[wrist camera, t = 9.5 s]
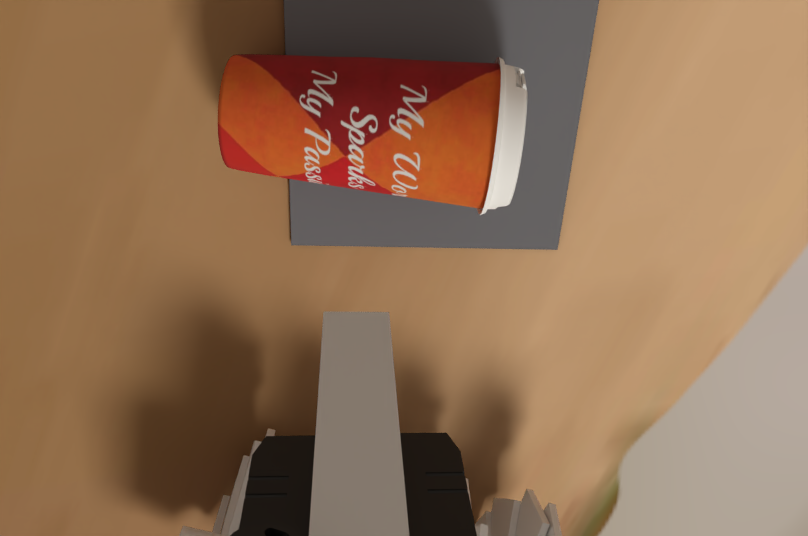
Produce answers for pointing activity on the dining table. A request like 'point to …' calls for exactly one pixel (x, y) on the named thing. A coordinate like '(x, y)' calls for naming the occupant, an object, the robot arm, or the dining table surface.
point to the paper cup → (378, 124)
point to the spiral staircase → (497, 530)
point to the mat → (457, 42)
